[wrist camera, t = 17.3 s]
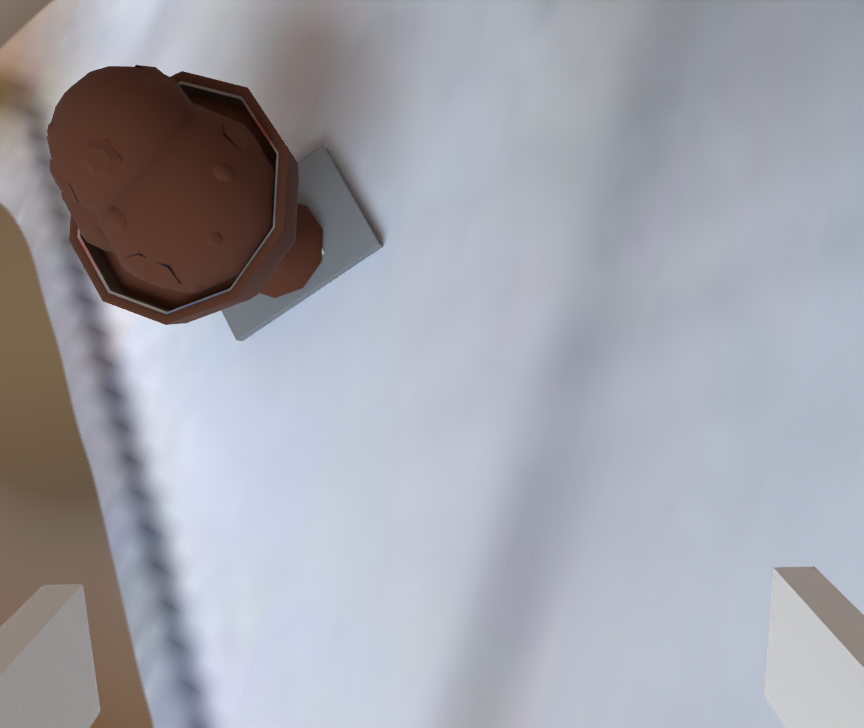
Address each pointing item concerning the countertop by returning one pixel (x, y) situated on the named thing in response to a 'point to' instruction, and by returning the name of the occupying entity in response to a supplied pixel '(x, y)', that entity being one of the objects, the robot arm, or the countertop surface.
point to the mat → (341, 242)
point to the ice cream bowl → (179, 193)
